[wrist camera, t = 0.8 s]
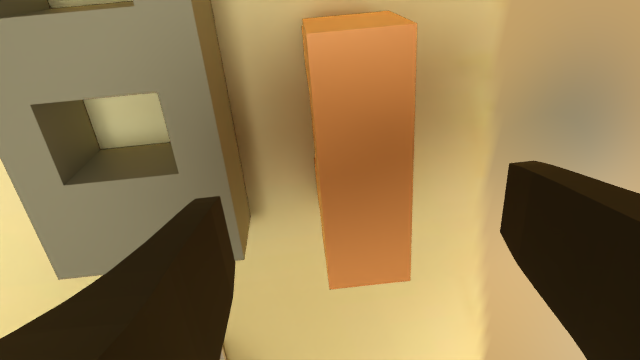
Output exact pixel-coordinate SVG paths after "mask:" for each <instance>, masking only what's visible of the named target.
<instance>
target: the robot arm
mask: <svg viewBox="0 0 640 360" xmlns="http://www.w3.org/2000/svg"><path fill="white" fill-rule="evenodd" d="M500 233H501V234H502V236H503V238H504V240H505V242H506V244H507V246H508V248H509V250H510V252H511V254H512V255H513V257H514V259H515V261H516V262H517V264H518V266H519V267H520V268H521V270H522V271H523V273H524V274H525V275H526V277H527V278H528V279H529V281H530V282H531V283H532V285H533V286H534V288H535V289H536V290H537V292H538V293H539V294H540V296H541V297H542V298H543V299H544V301H545V302H546V303H547V305H548V306H549V307H550V309H551V310H552V311H553V313H554V314H555V315H556V317H557V318H558V319H559V321H560V322H561V323H562V325H563V326H564V327H565V329H566V330H567V331H568V333H569V334H570V335H571V337H572V338H573V339H574V341H575V342H576V344H577V345H578V347H579V348H580V349H581V351H582V352H583V354H584V355H585V357H586V359H587V360H640V194H639V193H636V192H633V191H630V190H627V189H623V188H620V187H617V186H614V185H611V184H608V183H605V182H602V181H600V180H596V179H593V178H591V177H587V176H584V175H582V174H579V173H575V172H573V171H569V170H566V169H563V168H560V167H556V166H554V165H550V164H546V163H542V162H537V161H528V162H518V163H510V164H509V170H508V176H507V184H506V191H505V200H504V206H503V214H502V221H501V229H500ZM234 276H235V259H234V254H233V250H232V246H231V241H230V237H229V233H228V228H227V224H226V220H225V215H224V211H223V207H222V202H221V198H220V196H214V197H206V198H197V199H194V200H193V201H191V202H190V203H189V204H188V205H186V206H185V207H184V208H183V209H182V210H181V211H180V212H178V213H177V214H176V215H175V216H174V217H173V218H172V219H171V220H170V221H168V222H167V223H166V224H165V225H164V226H163V227H162V228H161V229H159V230H158V231H157V232H156V233H155V234H154V235H153V236H152V237H150V238H149V239H148V240H147V241H146V242H145V243H143V244H142V245H141V246H140V247H138V248H137V249H136V250H135V251H134V252H132V253H131V254H130V255H129V256H127V257H126V258H125V259H124V260H122V261H121V262H120V263H119V264H117V265H116V266H115V267H114V268H112V269H111V270H110V271H108V272H107V273H106V274H104V275H103V276H102V277H100V278H99V279H97V280H96V281H95V282H93V283H92V284H90V285H89V286H87V287H86V288H84V289H83V290H81V291H80V292H78V293H77V294H75V295H74V296H72V297H71V298H69V299H68V300H66V301H65V302H63V303H61V304H60V305H58V306H56V307H55V308H53V309H51V310H50V311H48V312H46V313H44V314H43V315H41V316H39V317H38V318H36V319H34V320H32V321H31V322H29V323H27V324H26V325H24V326H22V327H20V328H19V329H17V330H15V331H14V332H12V333H10V334H8V335H6V336H5V337H3V338H1V339H0V360H227V359H226V356H225V352H224V348H223V342H224V338H225V333H226V328H227V323H228V319H229V314H230V309H231V304H232V299H233V289H234Z"/></svg>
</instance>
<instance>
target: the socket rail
mask: <svg viewBox="0 0 640 360" xmlns="http://www.w3.org/2000/svg"><path fill="white" fill-rule="evenodd" d="M156 92H157V93H158V97H159V101H160V104H161V108H162V112H163V116H164V119H165V123H166V127H167V131H168V134H169V138H170V142H171V143H161V144H151V145H141V146H131V147H121V148H111V149H101V150H100V148H99V145H98V143H97V140H96V137H95V134H94V131H93V128H92V126H91V123H90V120H89V117H88V114H87V111H86V109H85V106H84V103H83V100H84V99H94V98H105V97H115V96H125V95H135V94H146V93H156ZM0 158H1V160H2V162H3V165H4V167H5V169H6V171H7V173H8V175H9V177H10V179H11V181H12V183H13V185H14V188H15V190H16V192H17V194H18V196H19V198H20V200H21V202H22V204H23V206H24V208H25V211H26V213H27V215H28V217H29V219H30V221H31V223H32V225H33V227H34V229H35V231H36V234H37V236H38V238H39V240H40V242H41V244H42V246H43V248H44V250H45V252H46V254H47V257H48V259H49V261H50V263H51V265H52V267H53V269H54V271H55V273H56V275H57V277H58V279H59V280H60V279H69V278H78V277H88V276H97V275H104V274H106V273H107V272H108V271H110V270H111V269H112V268H114V267H115V266H116V265H117V264H119V263H120V262H121V261H122V260H124V259H125V258H126V257H127V256H129V255H130V254H131V253H132V252H134V251H135V250H136V249H137V248H138V247H140V246H141V245H142V244H143V243H145V242H146V241H147V240H148V239H149V238H150V237H152V236H153V235H154V234H155V233H156V232H157V231H158V230H159V229H161V228H162V227H163V226H164V225H165V224H166V223H167V222H168V221H170V220H171V219H172V218H173V217H174V216H175V215H176V214H177V213H178V212H180V211H181V210H182V209H183V208H184V207H185V206H186V205H188V204H189V203H190V202H191V201H193V200H194V199H197V198H206V197H214V196H220V198H221V202H222V207H223V211H224V215H225V220H226V224H227V228H228V233H229V237H230V241H231V246H232V250H233V254H234V259H235V261H236V260H244V259H245V252H246V245H247V238H248V231H249V224H250V217H251V216H250V210H249V205H248V200H247V194H246V189H245V184H244V178H243V173H242V167H241V162H240V157H239V151H238V146H237V141H236V135H235V130H234V124H233V119H232V114H231V108H230V103H229V98H228V92H227V87H226V81H225V76H224V71H223V65H222V60H221V55H220V49H219V44H218V38H217V33H216V28H215V22H214V17H213V11H212V6H211V1H210V0H133V1H129V2H118V3H107V4H96V5H85V6H74V7H63V8H52V9H50V7H49V4H48V1H47V0H0Z"/></svg>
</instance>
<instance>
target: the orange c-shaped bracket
mask: <svg viewBox="0 0 640 360" xmlns="http://www.w3.org/2000/svg"><path fill="white" fill-rule="evenodd" d="M302 20H303V26H302V36H303V47H304V57H305V68H306V74H307V80H308V86H309V95H310V106H311V116H312V127H313V138H314V148H315V158H314V162H315V173H316V183H317V193H318V200H319V208H320V216H321V223H322V234H323V242H324V250H325V257H326V265H327V273H328V280H329V288H330V289H338V288H347V287H356V286H365V285H375V284H384V283H393V282H402V281H410V273H411V235H412V197H413V159H414V121H415V83H416V45H417V23H415V22H413V21H411V20H408V19H406V18H404V17H402V16H400V15H397V14H395V13H393V12H391V11H380V12H370V13H359V14H348V15H338V16H327V17H316V18H306V19H302Z"/></svg>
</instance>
